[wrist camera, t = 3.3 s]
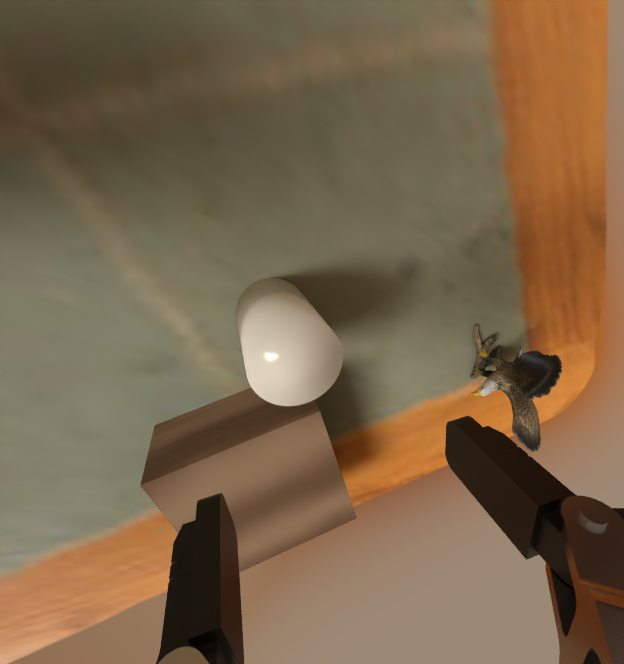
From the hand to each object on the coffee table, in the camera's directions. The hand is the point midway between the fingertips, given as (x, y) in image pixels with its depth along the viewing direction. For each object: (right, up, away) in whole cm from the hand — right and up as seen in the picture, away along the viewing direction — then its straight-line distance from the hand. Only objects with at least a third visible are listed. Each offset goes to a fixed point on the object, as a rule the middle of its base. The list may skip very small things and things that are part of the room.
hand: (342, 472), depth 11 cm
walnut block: (-6, -5, +18) cm, 20 cm away
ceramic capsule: (-4, +6, +13) cm, 15 cm away
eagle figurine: (+15, +2, +21) cm, 26 cm away
